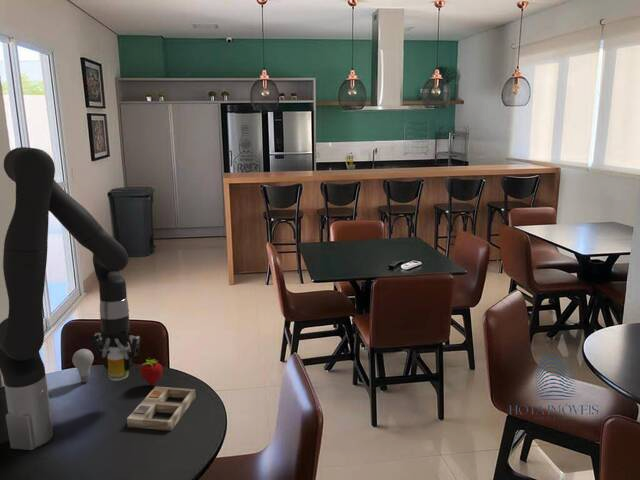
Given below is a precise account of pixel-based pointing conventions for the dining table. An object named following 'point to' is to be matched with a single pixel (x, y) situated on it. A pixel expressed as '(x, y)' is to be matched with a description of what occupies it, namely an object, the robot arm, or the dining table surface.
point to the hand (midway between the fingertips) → (118, 368)
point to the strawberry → (151, 371)
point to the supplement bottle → (116, 364)
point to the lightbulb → (83, 363)
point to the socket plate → (161, 408)
